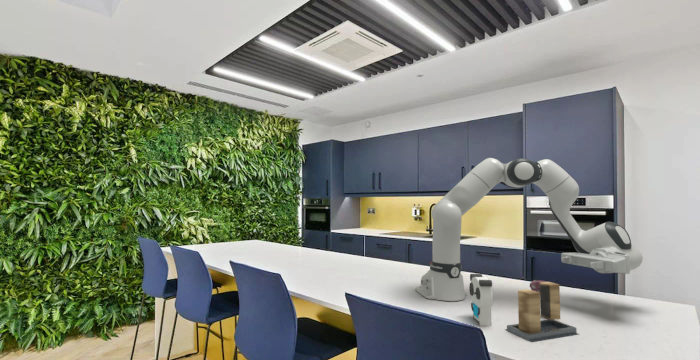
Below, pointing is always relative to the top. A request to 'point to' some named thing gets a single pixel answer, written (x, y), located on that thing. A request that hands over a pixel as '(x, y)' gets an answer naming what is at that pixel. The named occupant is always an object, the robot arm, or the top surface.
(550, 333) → the dark grey tray
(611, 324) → the top surface
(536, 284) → the video game controller
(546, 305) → the oak finger
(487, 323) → the panda figurine
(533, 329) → the block
